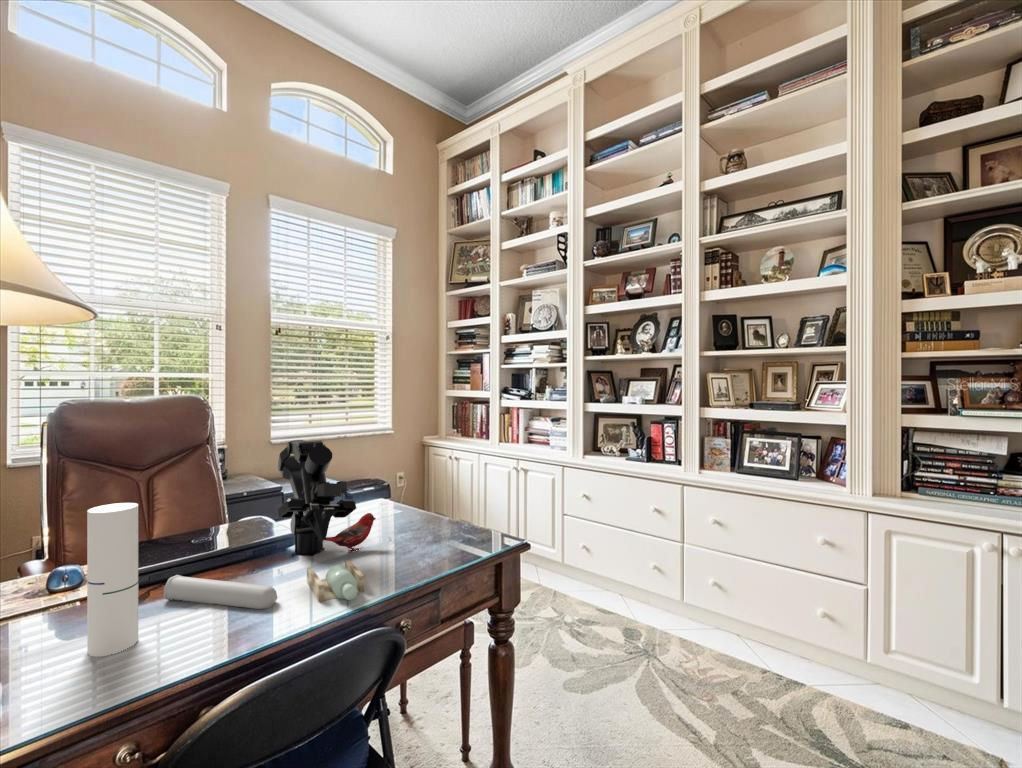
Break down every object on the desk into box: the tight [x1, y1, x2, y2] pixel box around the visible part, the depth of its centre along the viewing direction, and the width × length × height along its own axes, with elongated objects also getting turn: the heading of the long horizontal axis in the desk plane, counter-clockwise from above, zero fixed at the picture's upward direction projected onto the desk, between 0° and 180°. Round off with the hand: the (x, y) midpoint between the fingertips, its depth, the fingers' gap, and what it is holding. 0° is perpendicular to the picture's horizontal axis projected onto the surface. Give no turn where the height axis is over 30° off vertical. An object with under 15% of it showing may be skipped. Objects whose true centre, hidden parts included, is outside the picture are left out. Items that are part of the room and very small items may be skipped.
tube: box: [163, 574, 278, 610], centre depth 106 cm, size 5×5×25 cm
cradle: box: [306, 559, 365, 603], centre depth 113 cm, size 12×10×4 cm
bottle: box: [325, 564, 358, 601], centre depth 109 cm, size 5×5×11 cm
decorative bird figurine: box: [318, 512, 377, 553], centre depth 137 cm, size 3×18×10 cm, turn 138°
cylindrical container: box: [86, 502, 139, 658], centre depth 89 cm, size 7×7×25 cm
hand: (323, 540), depth 122 cm, fingers closed
